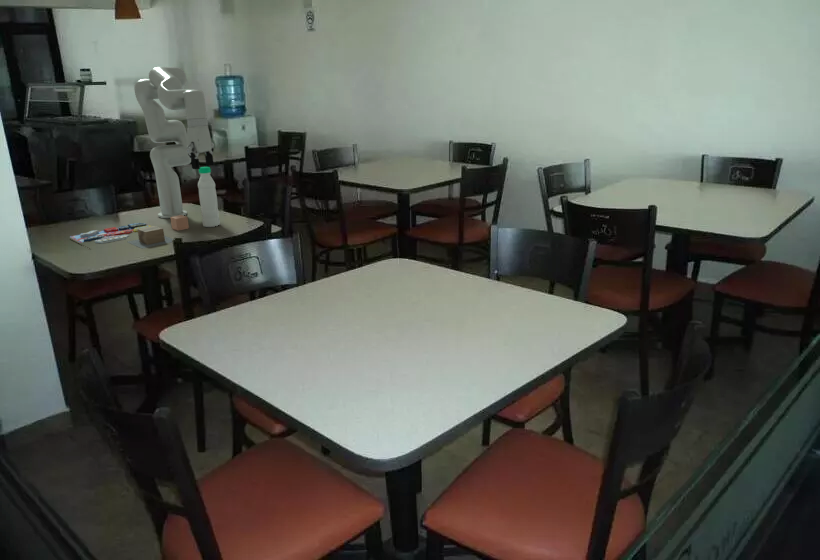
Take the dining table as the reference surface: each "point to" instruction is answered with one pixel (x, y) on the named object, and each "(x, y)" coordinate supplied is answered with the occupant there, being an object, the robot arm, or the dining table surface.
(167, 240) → the mat
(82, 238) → the puzzle board
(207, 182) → the water bottle
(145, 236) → the base block
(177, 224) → the top block
